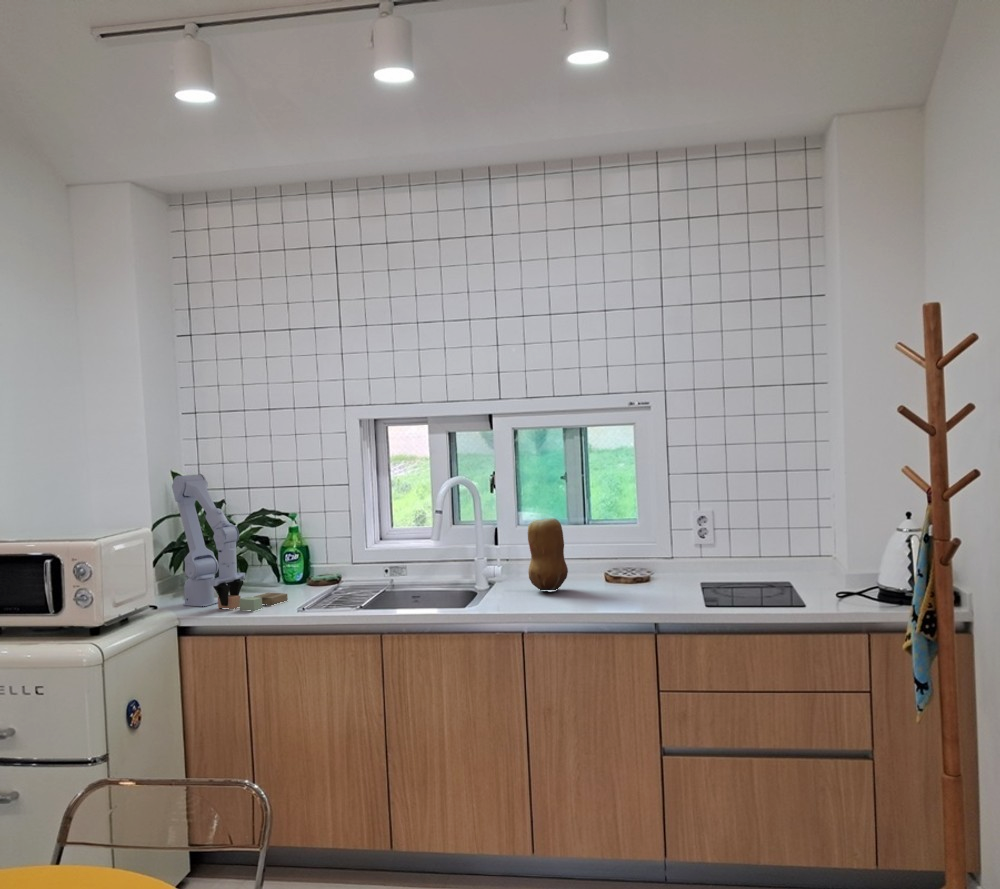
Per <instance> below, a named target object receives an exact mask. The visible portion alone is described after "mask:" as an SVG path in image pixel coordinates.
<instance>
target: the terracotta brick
mask: <svg viewBox="0 0 1000 889" xmlns="http://www.w3.org/2000/svg"><path fill="white" fill-rule="evenodd" d="M239 599H241V595H239V596H236V595H230V594H228V606H222V605H221V602H220V599H219V596H217V601H218V603H217V609H218V608H229V609H234V608H237V607H240V606H239Z"/></svg>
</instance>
